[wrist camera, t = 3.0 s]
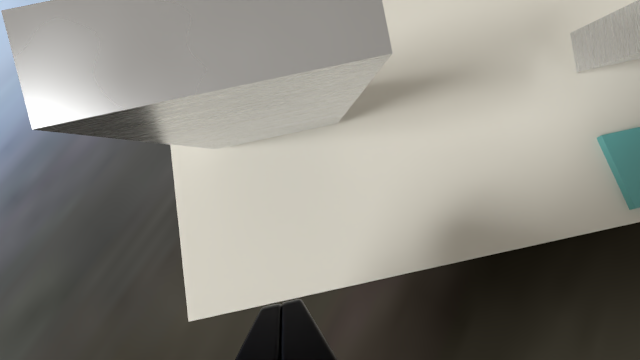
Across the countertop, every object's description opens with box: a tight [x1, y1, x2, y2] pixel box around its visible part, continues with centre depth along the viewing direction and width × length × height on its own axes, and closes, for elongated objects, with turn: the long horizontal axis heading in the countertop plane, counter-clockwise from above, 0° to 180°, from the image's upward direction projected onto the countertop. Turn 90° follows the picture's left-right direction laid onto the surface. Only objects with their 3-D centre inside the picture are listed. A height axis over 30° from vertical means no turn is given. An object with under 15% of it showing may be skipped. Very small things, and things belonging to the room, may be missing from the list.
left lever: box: [2, 0, 393, 149], centre depth 10 cm, size 2×5×10 cm, turn 101°
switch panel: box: [170, 0, 640, 321], centre depth 17 cm, size 14×24×3 cm, turn 102°
